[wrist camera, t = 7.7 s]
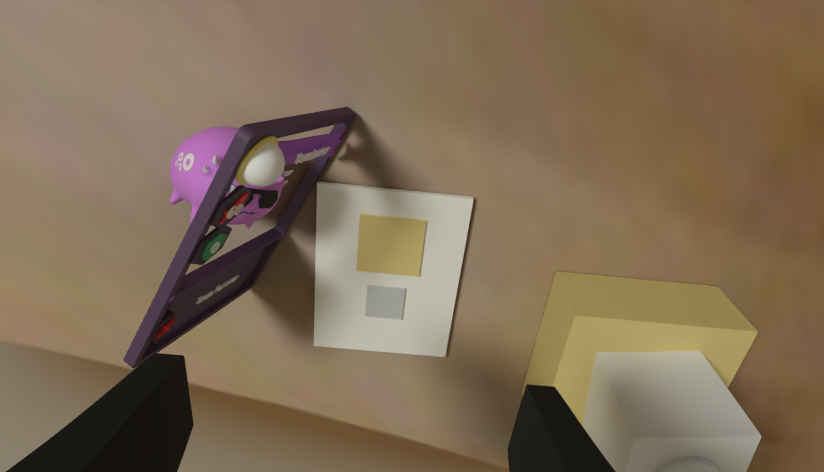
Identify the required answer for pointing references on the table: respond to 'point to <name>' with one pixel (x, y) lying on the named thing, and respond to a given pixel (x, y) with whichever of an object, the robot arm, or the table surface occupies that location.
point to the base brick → (631, 328)
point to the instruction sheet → (387, 267)
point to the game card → (231, 215)
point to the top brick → (666, 414)
